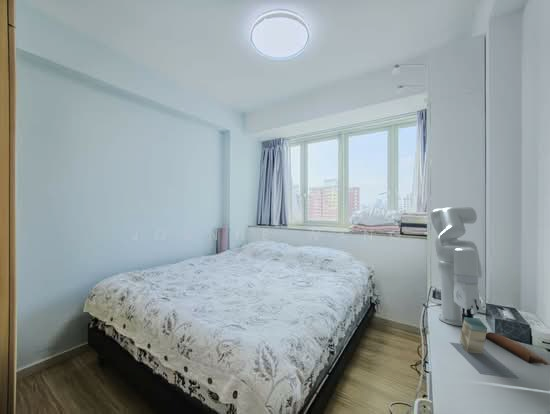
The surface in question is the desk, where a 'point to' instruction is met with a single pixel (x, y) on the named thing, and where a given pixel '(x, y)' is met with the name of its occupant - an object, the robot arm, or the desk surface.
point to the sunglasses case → (515, 348)
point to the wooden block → (473, 335)
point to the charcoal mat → (484, 362)
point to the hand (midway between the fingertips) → (468, 324)
